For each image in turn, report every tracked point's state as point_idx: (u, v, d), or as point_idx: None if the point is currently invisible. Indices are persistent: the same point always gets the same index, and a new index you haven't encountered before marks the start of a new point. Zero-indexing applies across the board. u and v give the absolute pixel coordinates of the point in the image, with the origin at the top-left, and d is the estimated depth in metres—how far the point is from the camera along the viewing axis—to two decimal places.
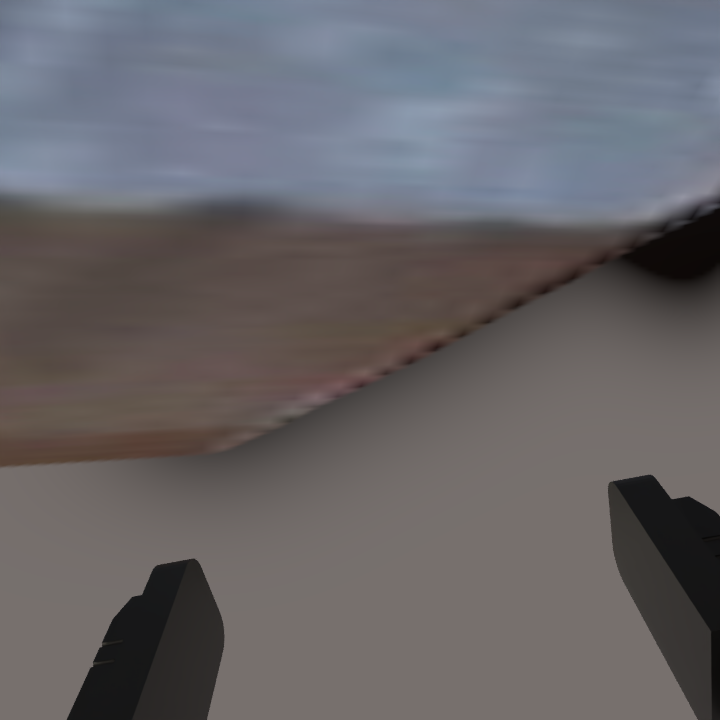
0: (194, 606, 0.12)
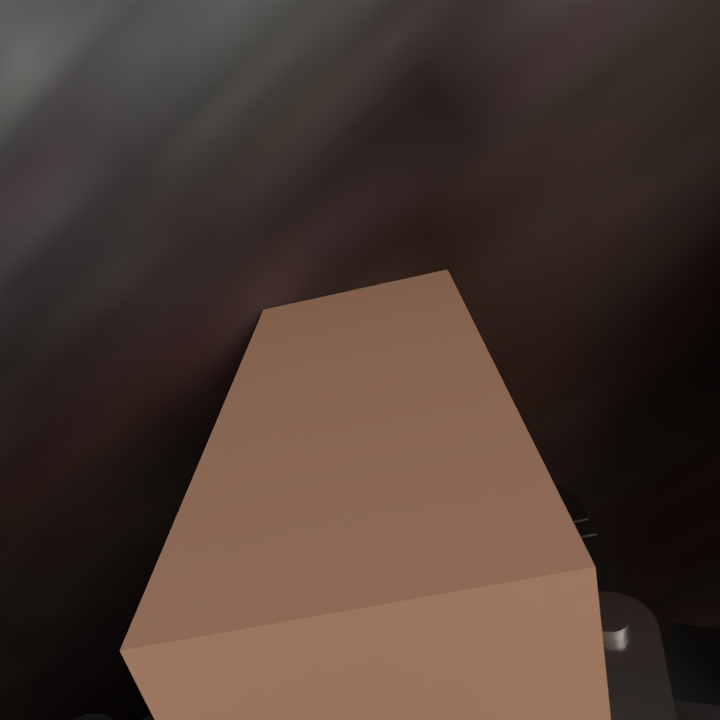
0: None
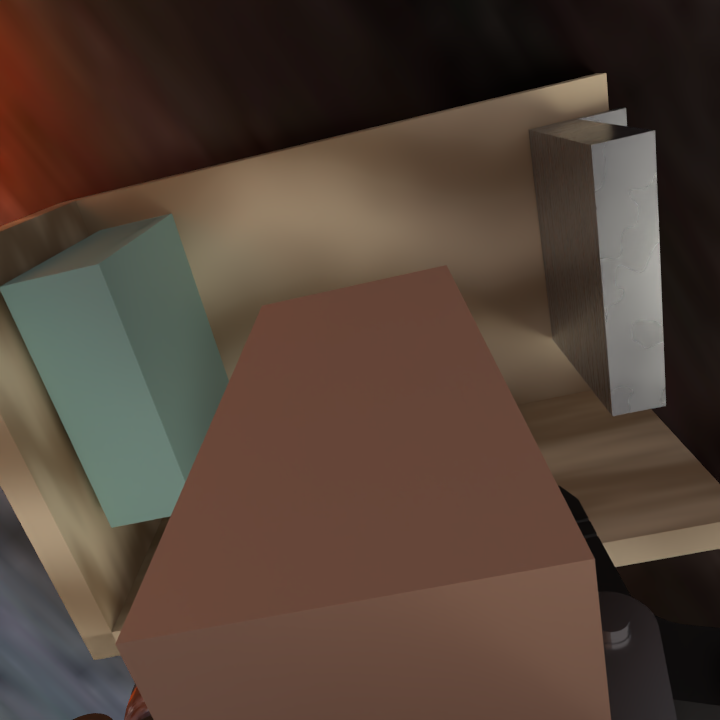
0: None
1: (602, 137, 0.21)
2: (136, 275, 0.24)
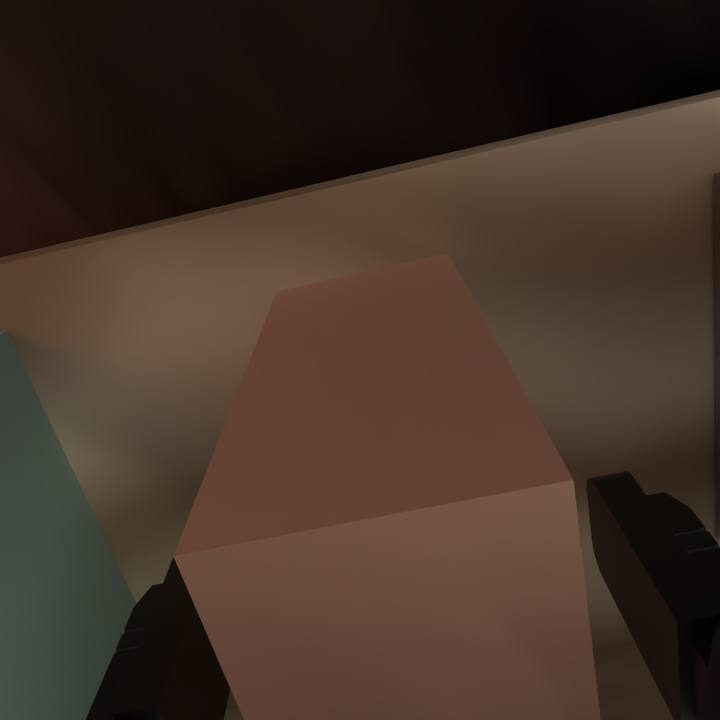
0: None
1: None
2: None
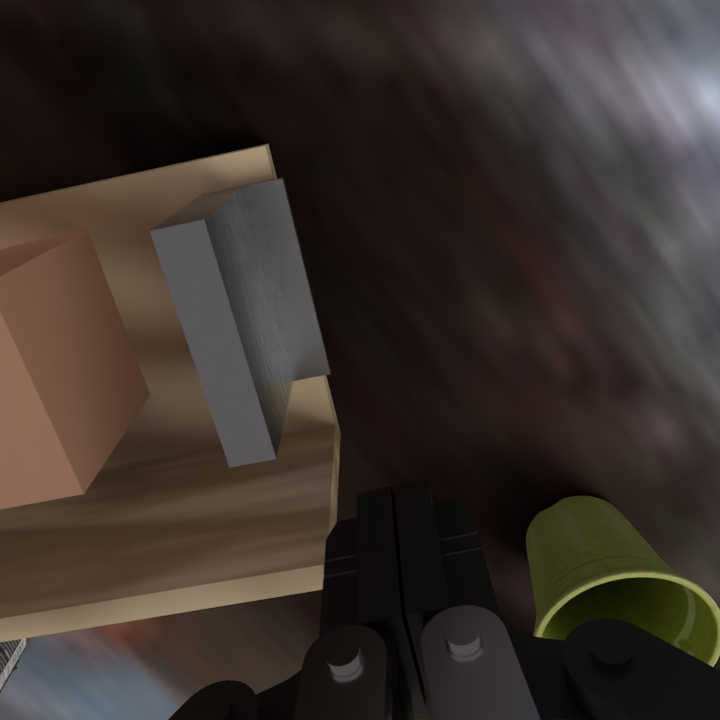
0: None
1: (176, 221, 0.23)
2: None
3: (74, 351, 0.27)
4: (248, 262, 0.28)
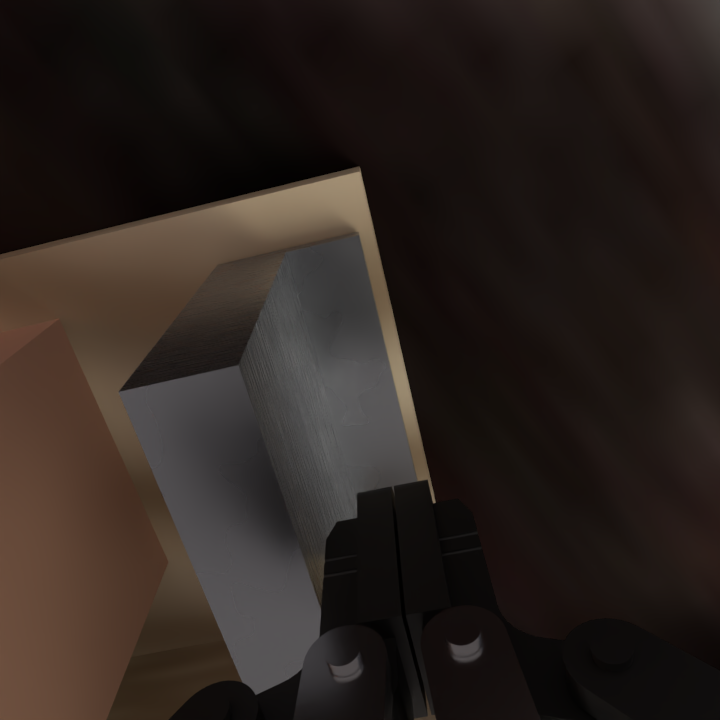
0: None
1: (177, 357, 0.11)
2: None
3: (33, 559, 0.15)
4: (307, 389, 0.16)
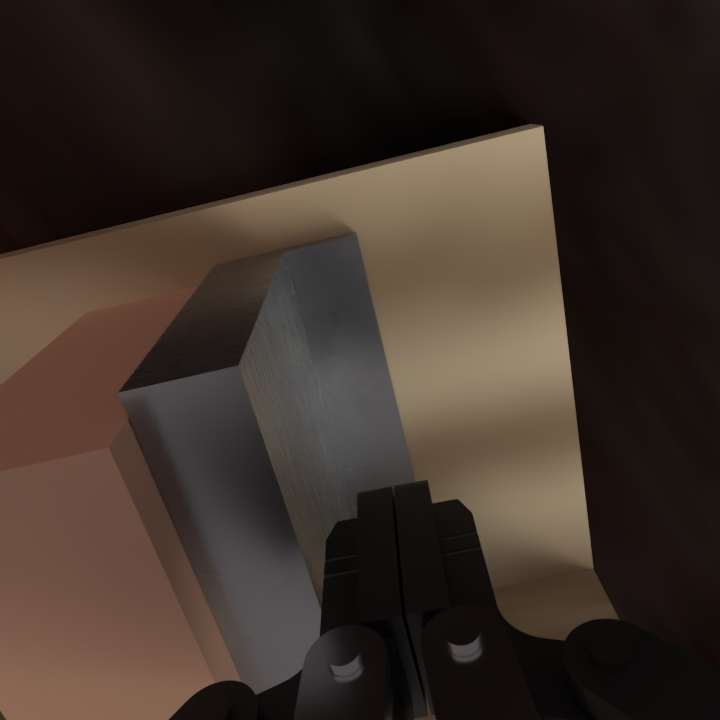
0: None
1: (176, 358, 0.11)
2: None
3: None
4: (305, 389, 0.16)
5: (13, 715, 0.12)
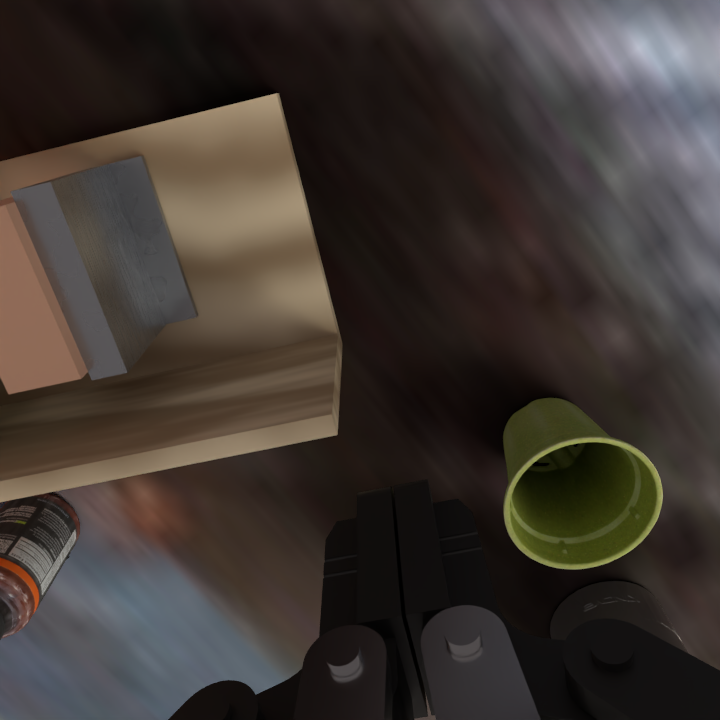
0: None
1: (34, 185, 0.31)
2: None
3: None
4: (111, 222, 0.35)
5: None
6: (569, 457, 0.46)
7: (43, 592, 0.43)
